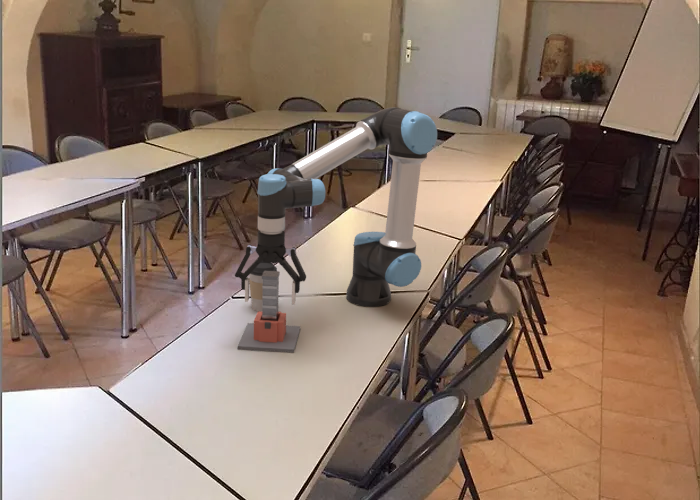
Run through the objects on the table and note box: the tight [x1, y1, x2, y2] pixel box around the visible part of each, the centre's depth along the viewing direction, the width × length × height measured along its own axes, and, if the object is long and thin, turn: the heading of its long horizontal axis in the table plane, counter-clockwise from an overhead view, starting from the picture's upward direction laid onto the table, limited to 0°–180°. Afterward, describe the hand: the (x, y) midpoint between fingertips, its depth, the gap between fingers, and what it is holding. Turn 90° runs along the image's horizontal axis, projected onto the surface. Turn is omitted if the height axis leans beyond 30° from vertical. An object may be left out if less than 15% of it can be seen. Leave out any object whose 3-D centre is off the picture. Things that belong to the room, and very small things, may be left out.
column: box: [261, 270, 281, 321], centre depth 205 cm, size 4×4×19 cm
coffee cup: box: [248, 261, 278, 312], centre depth 229 cm, size 9×9×15 cm
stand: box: [237, 311, 301, 354], centre depth 208 cm, size 16×16×7 cm
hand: (270, 301), depth 205 cm, fingers open, 13 cm apart
